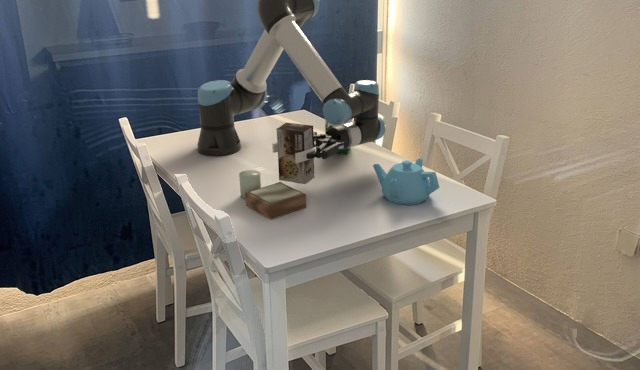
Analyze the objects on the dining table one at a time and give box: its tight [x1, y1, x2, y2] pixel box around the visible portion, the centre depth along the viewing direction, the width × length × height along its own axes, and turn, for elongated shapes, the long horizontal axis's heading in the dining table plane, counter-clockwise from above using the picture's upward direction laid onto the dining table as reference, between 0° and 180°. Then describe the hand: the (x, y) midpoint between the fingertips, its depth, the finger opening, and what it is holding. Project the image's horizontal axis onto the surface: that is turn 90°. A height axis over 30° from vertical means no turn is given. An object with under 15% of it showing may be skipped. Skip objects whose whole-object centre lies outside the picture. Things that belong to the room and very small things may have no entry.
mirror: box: [245, 181, 307, 220], centre depth 176 cm, size 12×12×4 cm
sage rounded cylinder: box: [238, 169, 262, 201], centre depth 183 cm, size 6×6×7 cm
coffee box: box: [276, 122, 315, 185], centre depth 184 cm, size 9×6×16 cm
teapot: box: [372, 158, 440, 206], centre depth 180 cm, size 15×15×11 cm
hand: (284, 153), depth 181 cm, fingers closed on coffee box, 10 cm apart
